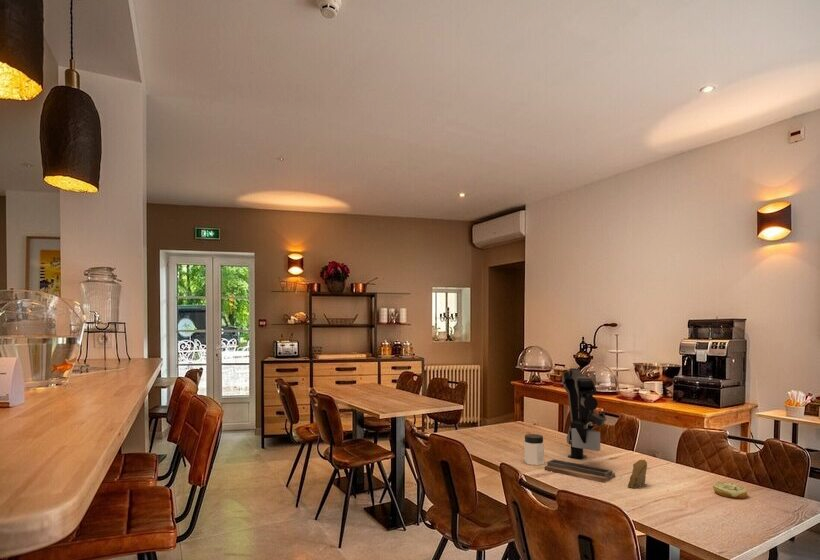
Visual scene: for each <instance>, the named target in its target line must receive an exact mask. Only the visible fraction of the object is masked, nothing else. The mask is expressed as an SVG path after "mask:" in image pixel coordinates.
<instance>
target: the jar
mask: <svg viewBox="0 0 820 560" xmlns="http://www.w3.org/2000/svg"><path fill="white" fill-rule="evenodd" d="M523 455H524V456H523V457H524V458H523V459H524V460H523V461H524V463H525V464H527V465H529V464H530V466H531V465H532V466H541V465H544V464H545V443H544V437H543V435H542V434H539V433H538V434H537V433H536V434H535V433H529V434H525V435H524V441H523Z"/></svg>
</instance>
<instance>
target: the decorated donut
mask: <svg viewBox="0 0 820 560" xmlns="http://www.w3.org/2000/svg"><path fill="white" fill-rule="evenodd" d="M712 488H713V490H714V492H715V493H716V494H717V495H719V496H721V497H724V498H729V499H730V498H732V499H736V500H737V499H741V500H742V499H746V498H747V496H748V494H747V493H748V489H747V488H746V487H744V486H743V485H741V484H737V483H734V482H730V481H717V482H715V483H712Z"/></svg>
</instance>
